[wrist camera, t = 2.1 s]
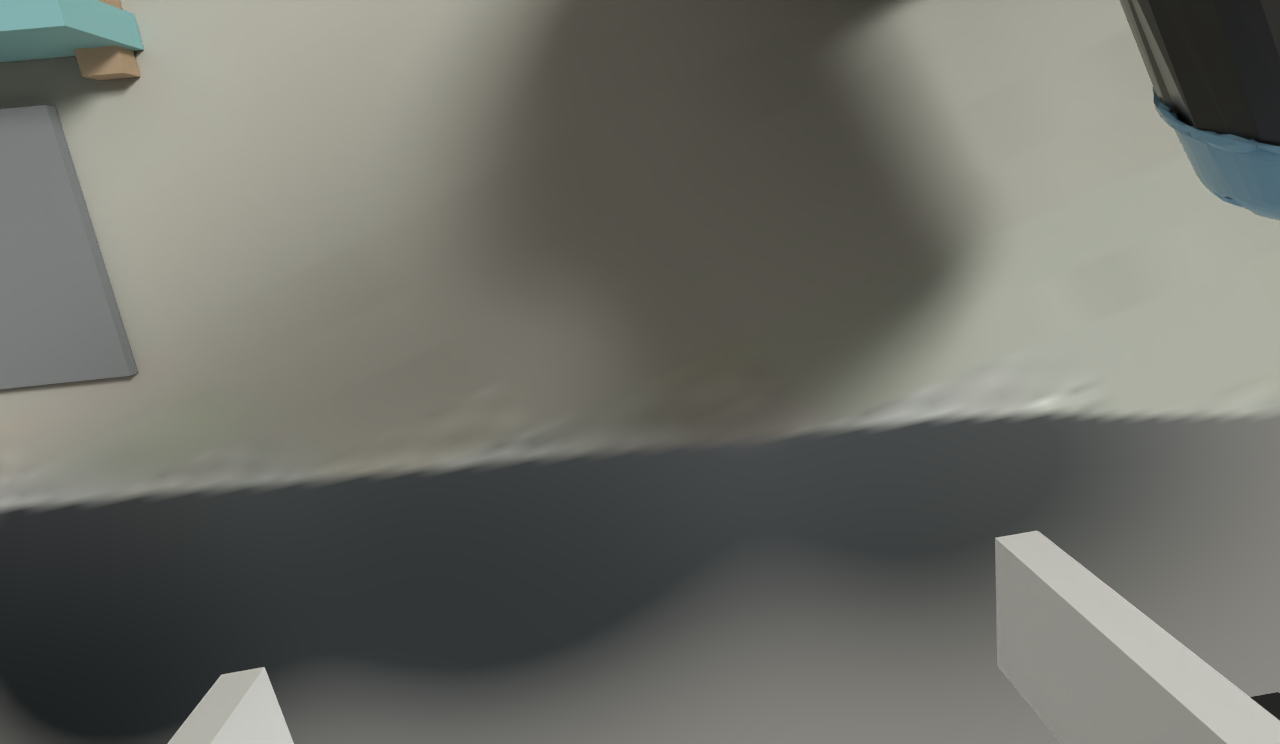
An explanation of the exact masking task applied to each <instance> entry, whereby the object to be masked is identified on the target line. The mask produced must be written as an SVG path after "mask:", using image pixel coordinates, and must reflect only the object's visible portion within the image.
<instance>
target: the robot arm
mask: <svg viewBox="0 0 1280 744" xmlns="http://www.w3.org/2000/svg"><path fill="white" fill-rule="evenodd" d="M1120 2H1121V5H1122V7H1123V10H1124V12H1125V15H1126V17H1127V20H1128V22H1129V25H1130V28H1131V30H1132V33H1133V35H1134V38H1135V40H1136V43H1137V46H1138V48H1139V51H1140V53H1141V56H1142V58H1143V61H1144V64H1145V66H1146V69H1147V71H1148V74H1149V76H1150V79H1151V81H1152V84H1153V93H1154V104H1155V107H1156V110H1157V111H1158V113H1159V115H1160V116H1161V117H1162V118H1163V120H1164V121H1165V122H1166V123H1167V124H1168V125H1169V126H1171V127H1172V128H1174V129H1175V132H1176V134H1177V136H1178V138H1179V140H1180V142H1181V144H1182V146H1183V148H1184V150H1185V152H1186V154H1187V156H1188V158H1189V160H1190V162H1191V164H1192V166H1193V168H1194V171H1195V173H1196V175H1197V176H1198V178H1199V179H1200V181H1201V182H1202V183H1203V184H1204V185H1205V187H1206V188H1207V189H1209V190H1210V191H1211V192H1212V193H1213V194H1214V195H1216V196H1217V197H1219V198H1220V199H1221V200H1223V201H1225V202H1228V203H1231V204H1233V205H1236V206H1240V207H1244V208H1246V209H1248V210H1250V211H1252V212H1253V213H1255V214H1257V215H1260V216H1263V217H1267V218H1271V219H1276V220H1280V0H1120ZM995 551H996V606H997V607H996V609H997V662H998V663H997V665H998V667H999V669H1000V670H1001V671H1002V672H1003V673H1004V675H1005V676H1006V677H1007V678H1008V679H1009V680H1010V682H1011V683H1012V684H1013V686H1014V687H1015V688H1016V689H1017V690H1018V691H1019V693H1020V694H1021V695H1022V696H1023V697H1024V699H1025V700H1026V701H1027V702H1028V704H1029V705H1030V706H1031V707H1032V708H1033V710H1034V711H1035V712H1036V713H1037V714H1038V716H1039V717H1040V718H1041V719H1042V720H1043V722H1044V723H1045V724H1046V725H1047V727H1048V728H1049V729H1050V730H1051V731H1052V733H1053V734H1054V735H1055V736H1056V737H1057V739H1058V740H1059V741H1060V742H1061V743H1062V744H1280V693H1278V692H1276V693H1271V694H1265V695H1260V696H1254V697H1249V696H1248V695H1246V694H1245V693H1244V692H1242V691H1241V690H1240V689H1239V688H1237V687H1236V686H1235V685H1234V684H1232V683H1231V682H1230V681H1229V680H1227V679H1226V678H1225V677H1223V676H1222V675H1221V674H1220V673H1218V672H1217V671H1216V670H1214V669H1213V668H1212V667H1211V666H1209V665H1208V664H1207V663H1206V662H1204V661H1203V660H1202V659H1200V658H1199V657H1198V656H1197V655H1195V654H1194V653H1193V652H1192V651H1190V650H1189V649H1187V648H1186V647H1185V646H1184V645H1183V644H1181V643H1180V642H1179V641H1177V640H1176V639H1175V638H1174V637H1172V636H1171V635H1170V634H1169V633H1167V632H1166V631H1165V630H1163V629H1162V628H1161V627H1160V626H1158V625H1157V624H1156V623H1155V622H1153V621H1152V620H1151V619H1149V618H1148V617H1147V616H1146V615H1144V614H1143V613H1142V612H1141V611H1139V610H1138V609H1137V608H1135V607H1134V606H1133V605H1132V604H1130V603H1129V602H1128V601H1127V600H1125V599H1124V598H1123V597H1121V596H1120V595H1119V594H1118V593H1116V592H1115V591H1114V590H1113V589H1111V588H1110V587H1109V586H1107V585H1106V584H1105V583H1104V582H1102V581H1101V580H1100V579H1098V578H1097V577H1096V576H1095V575H1093V574H1092V573H1091V572H1090V571H1088V570H1087V569H1086V568H1084V567H1083V566H1082V565H1081V564H1079V563H1078V562H1077V561H1076V560H1074V559H1073V558H1072V557H1070V556H1069V555H1068V554H1066V553H1065V552H1064V551H1063V550H1062V549H1060V548H1059V547H1058V546H1056V545H1055V544H1054V543H1053V542H1051V541H1050V540H1049V539H1047V538H1046V537H1045V536H1044V535H1042V534H1041V533H1040V532H1039V531H1032V532H1027V533H1021V534H1015V535H1010V536H1004V537H999V538H995ZM168 744H294V743H293V741H292V738H291V735H290V733H289V730H288V727H287V725H286V722H285V719H284V717H283V714H282V711H281V709H280V706H279V704H278V701H277V698H276V696H275V693H274V691H273V688H272V685H271V683H270V680H269V677H268V675H267V672H266V670H265V667H262V668H256V669H251V670H246V671H239V672H234V673H228V674H222V675H221V676H220V677H219V678H218V680H217V681H216V682H215V683H214V685H213V686H212V687H211V689H210V690H209V691H208V692H207V694H206V695H205V696H204V697H203V699H202V700H201V701H200V703H199V704H198V705H197V707H196V708H195V709H194V710H193V712H192V713H191V714H190V715H189V717H188V718H187V719H186V720H185V722H184V723H183V724H182V726H181V727H180V728H179V729H178V731H177V732H176V733H175V735H174V736H173V737H172V738H171V740H170V741H169V742H168Z"/></svg>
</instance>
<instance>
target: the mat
mask: <svg viewBox="0 0 1280 744" xmlns="http://www.w3.org/2000/svg"><path fill="white" fill-rule="evenodd" d="M136 373H138V371H137V368H136V365H135V362H134V358H133V355H132V352H131V349H130V346H129V342H128V339H127V336H126V333H125V329H124V326H123V323H122V320H121V317H120V313H119V310H118V307H117V304H116V300H115V297H114V294H113V291H112V288H111V284H110V281H109V278H108V275H107V271H106V268H105V265H104V262H103V259H102V255H101V252H100V249H99V246H98V242H97V239H96V236H95V233H94V229H93V226H92V223H91V220H90V217H89V213H88V210H87V207H86V204H85V200H84V197H83V194H82V191H81V188H80V184H79V181H78V178H77V175H76V171H75V168H74V165H73V162H72V159H71V155H70V152H69V149H68V146H67V142H66V139H65V136H64V133H63V130H62V126H61V123H60V120H59V117H58V113H57V110H56V107H55V106H50V105H38V106H27V107H16V108H5V109H0V389H8V388H17V387H27V386H37V385H46V384H56V383H66V382H75V381H85V380H95V379H104V378H114V377H124V376H131V375H134V374H136Z"/></svg>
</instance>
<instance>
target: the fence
mask: <svg viewBox="0 0 1280 744" xmlns="http://www.w3.org/2000/svg"><path fill="white" fill-rule="evenodd" d="M135 50H143V46H142V42H141V39H140V35H139V31H138V27H137V24H136V20H135V16H134V14H132V13H129V12H127V11H124V10H122V8H121V4H120V0H0V62H10V61H22V60H33V59H45V58H56V57H67V56H76V59H77V62H78V66H79V69H80V72H81V76H82V77H87V78H91V79H96V80H110V79H121V78H132V77H140V73H139V70H138V66H137V62H136V59H135V55H134V51H135Z"/></svg>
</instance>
